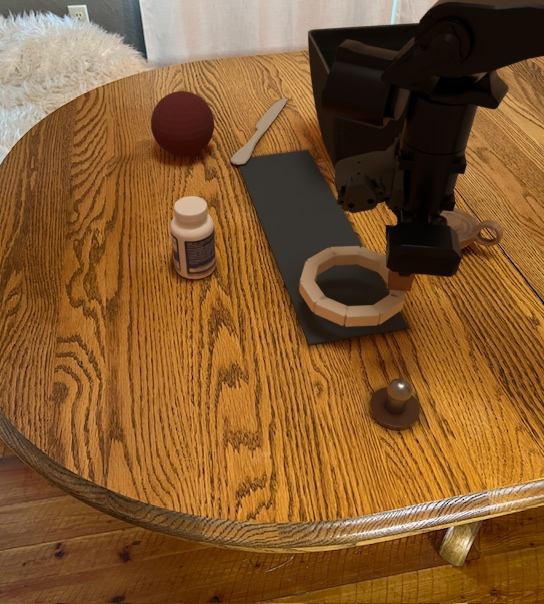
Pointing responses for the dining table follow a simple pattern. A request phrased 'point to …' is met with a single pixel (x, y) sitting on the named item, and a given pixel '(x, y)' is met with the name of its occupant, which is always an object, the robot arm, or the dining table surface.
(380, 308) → the ivory ring
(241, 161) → the butter knife
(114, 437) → the dining table surface
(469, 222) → the oil lamp
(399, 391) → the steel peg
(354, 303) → the rubber mat
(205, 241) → the pill bottle
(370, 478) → the dining table surface
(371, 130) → the flower pot
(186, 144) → the decorative ball
